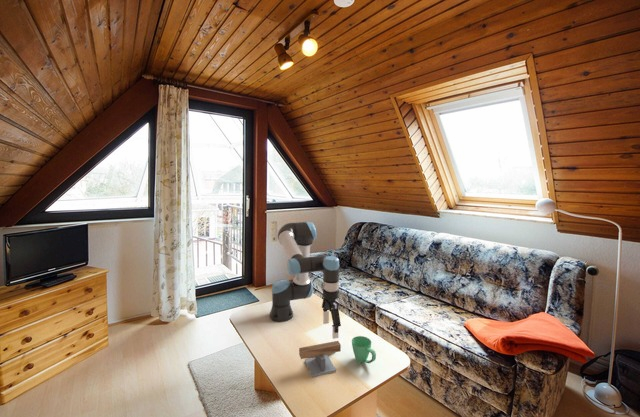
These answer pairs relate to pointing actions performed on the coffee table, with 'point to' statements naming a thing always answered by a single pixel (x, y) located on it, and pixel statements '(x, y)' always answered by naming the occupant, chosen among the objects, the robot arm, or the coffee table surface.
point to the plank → (319, 349)
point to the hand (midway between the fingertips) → (330, 330)
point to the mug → (362, 349)
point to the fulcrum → (320, 365)
